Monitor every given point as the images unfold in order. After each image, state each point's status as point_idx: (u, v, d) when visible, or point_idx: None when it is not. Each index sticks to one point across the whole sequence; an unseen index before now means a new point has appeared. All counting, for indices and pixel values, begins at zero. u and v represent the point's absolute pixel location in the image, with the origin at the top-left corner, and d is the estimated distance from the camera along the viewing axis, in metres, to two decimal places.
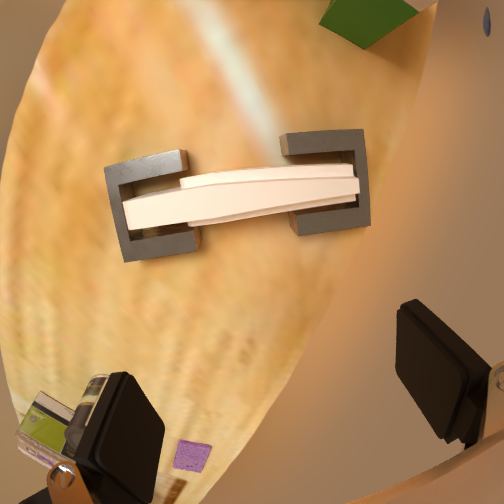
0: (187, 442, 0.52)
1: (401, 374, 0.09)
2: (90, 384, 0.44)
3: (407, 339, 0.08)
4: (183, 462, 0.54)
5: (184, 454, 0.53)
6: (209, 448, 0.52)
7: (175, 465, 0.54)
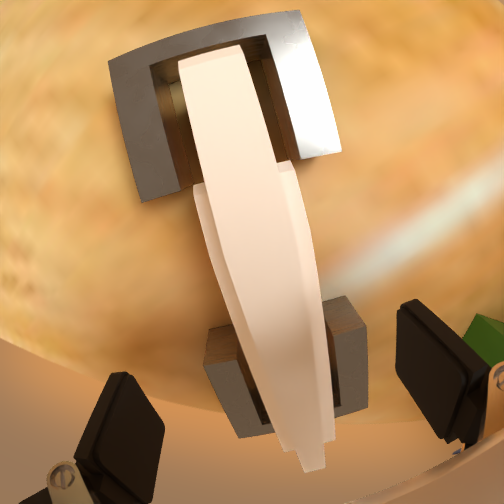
0: None
1: (401, 374, 0.09)
2: None
3: (407, 339, 0.08)
4: None
5: None
6: None
7: None
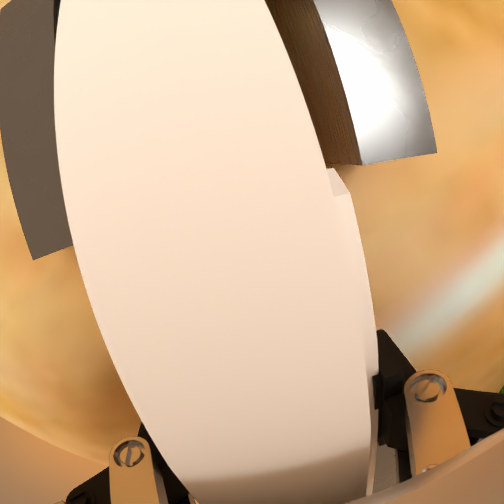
0: None
1: None
2: None
3: None
4: None
5: None
6: None
7: None
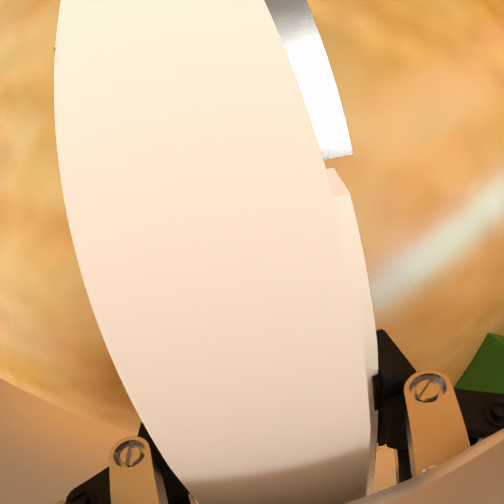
0: None
1: None
2: None
3: None
4: None
5: None
6: None
7: None
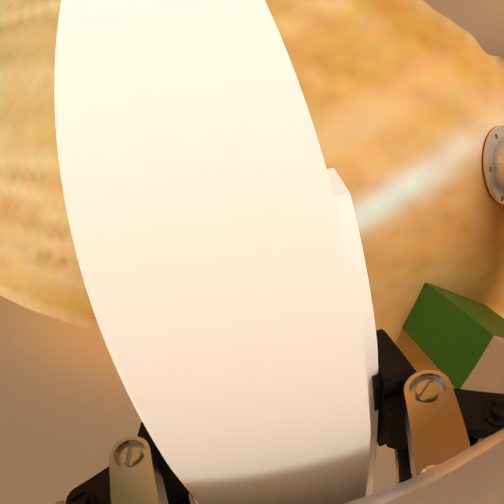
0: None
1: None
2: None
3: None
4: None
5: None
6: None
7: None
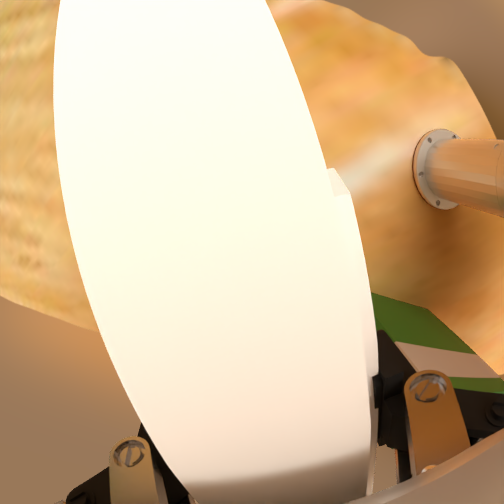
0: None
1: None
2: None
3: None
4: None
5: None
6: None
7: None
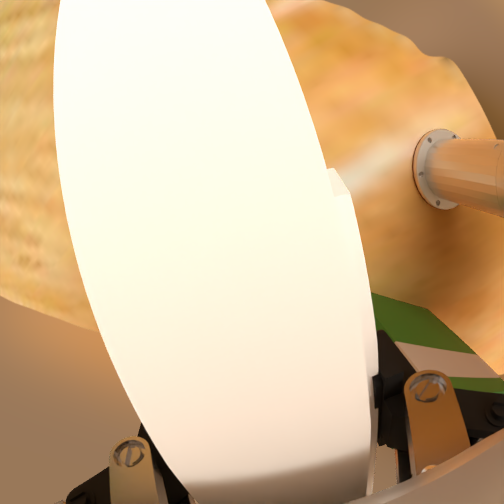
0: None
1: None
2: None
3: None
4: None
5: None
6: None
7: None
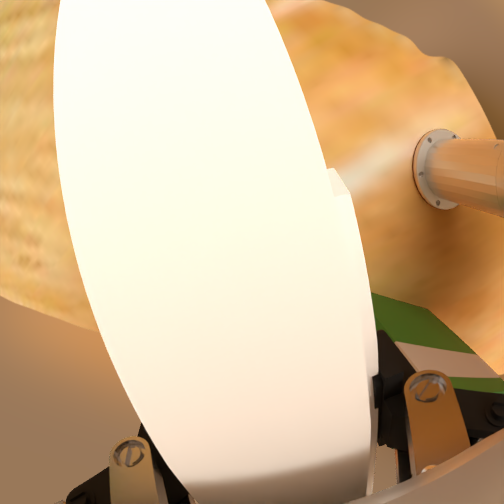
0: None
1: None
2: None
3: None
4: None
5: None
6: None
7: None
